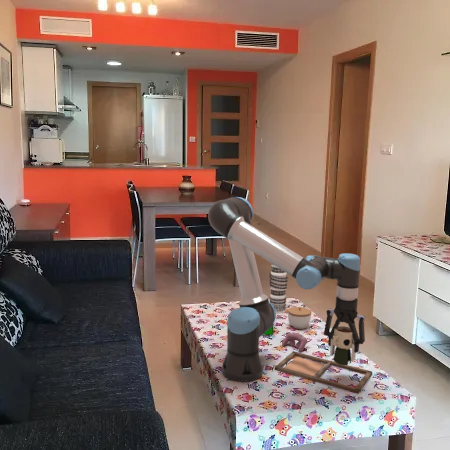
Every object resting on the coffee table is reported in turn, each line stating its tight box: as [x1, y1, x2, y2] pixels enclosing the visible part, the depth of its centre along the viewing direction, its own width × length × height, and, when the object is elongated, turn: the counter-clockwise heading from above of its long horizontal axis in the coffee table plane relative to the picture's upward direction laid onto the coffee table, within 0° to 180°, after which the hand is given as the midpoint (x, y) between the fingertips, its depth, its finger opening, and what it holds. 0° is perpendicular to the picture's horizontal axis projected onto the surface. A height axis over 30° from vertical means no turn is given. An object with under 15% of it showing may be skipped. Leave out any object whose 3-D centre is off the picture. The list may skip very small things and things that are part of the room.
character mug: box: [332, 325, 354, 365], centre depth 178 cm, size 11×7×13 cm, turn 125°
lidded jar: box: [287, 306, 312, 330], centre depth 228 cm, size 11×11×9 cm
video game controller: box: [281, 332, 308, 353], centre depth 205 cm, size 10×5×7 cm, turn 48°
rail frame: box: [273, 351, 373, 394], centre depth 184 cm, size 17×32×1 cm, turn 58°
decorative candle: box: [269, 263, 289, 314], centre depth 248 cm, size 9×9×25 cm
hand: (342, 357), depth 179 cm, fingers closed on character mug, 7 cm apart
